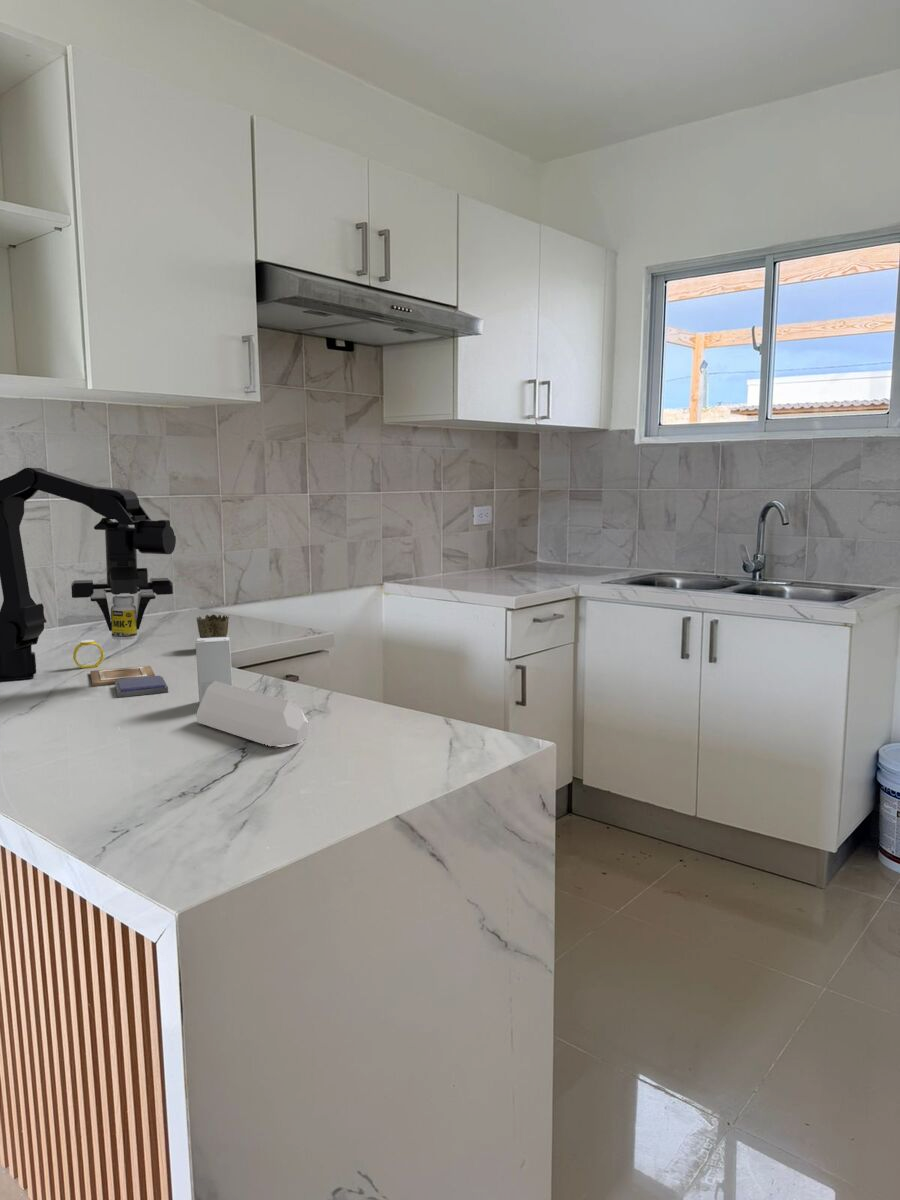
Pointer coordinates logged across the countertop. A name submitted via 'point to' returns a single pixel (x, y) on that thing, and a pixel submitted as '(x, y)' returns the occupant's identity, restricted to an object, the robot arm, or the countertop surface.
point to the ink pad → (140, 686)
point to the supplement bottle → (123, 618)
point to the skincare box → (213, 662)
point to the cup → (213, 626)
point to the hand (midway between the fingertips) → (124, 629)
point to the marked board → (119, 674)
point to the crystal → (252, 715)
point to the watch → (88, 642)
